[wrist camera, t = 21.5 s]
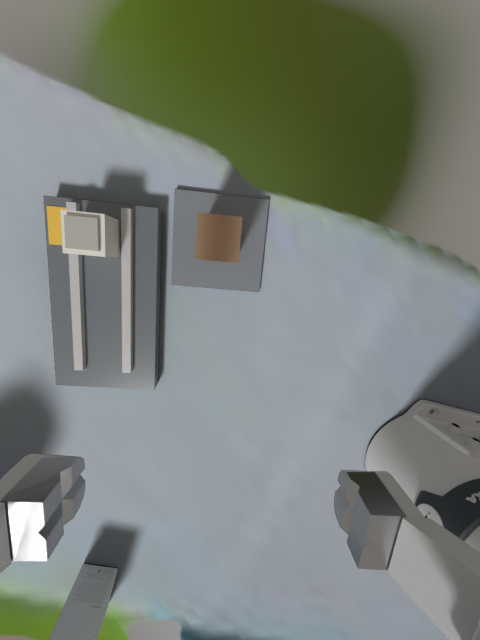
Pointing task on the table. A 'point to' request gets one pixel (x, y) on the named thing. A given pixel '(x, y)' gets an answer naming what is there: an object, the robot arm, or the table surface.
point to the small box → (86, 604)
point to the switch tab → (90, 234)
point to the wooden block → (218, 237)
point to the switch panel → (106, 300)
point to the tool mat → (217, 272)
